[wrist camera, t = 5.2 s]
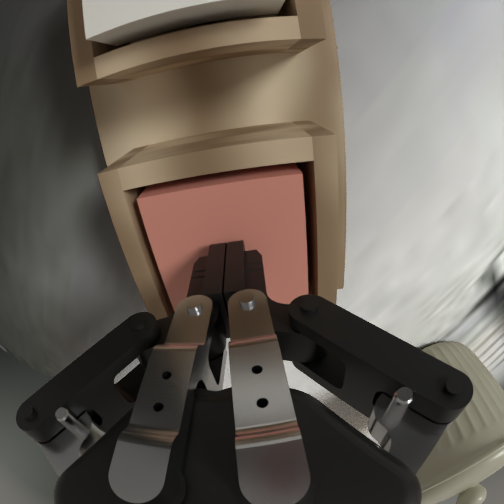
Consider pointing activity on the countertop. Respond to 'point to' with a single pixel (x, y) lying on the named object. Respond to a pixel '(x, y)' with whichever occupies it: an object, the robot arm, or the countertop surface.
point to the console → (221, 122)
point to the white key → (161, 16)
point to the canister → (466, 435)
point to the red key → (230, 225)
